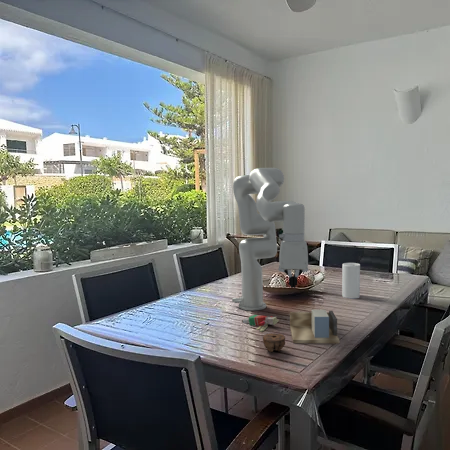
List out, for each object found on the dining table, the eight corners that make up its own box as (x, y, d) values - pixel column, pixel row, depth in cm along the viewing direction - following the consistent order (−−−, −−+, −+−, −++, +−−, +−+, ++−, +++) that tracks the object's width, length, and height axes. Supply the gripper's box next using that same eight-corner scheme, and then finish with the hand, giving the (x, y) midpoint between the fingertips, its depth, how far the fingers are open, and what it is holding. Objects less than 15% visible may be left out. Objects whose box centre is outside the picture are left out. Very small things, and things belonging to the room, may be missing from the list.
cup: (341, 297, 206) (341, 265, 205) (343, 293, 214) (343, 262, 212) (358, 299, 203) (359, 266, 202) (360, 294, 211) (360, 263, 209)
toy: (251, 311, 181) (282, 311, 173) (252, 320, 181) (284, 321, 173) (233, 321, 168) (266, 322, 160) (234, 330, 169) (267, 332, 160)
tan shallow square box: (293, 343, 150) (293, 323, 149) (289, 327, 166) (289, 309, 165) (339, 343, 148) (339, 323, 148) (331, 327, 164) (331, 309, 164)
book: (314, 337, 151) (314, 317, 151) (311, 328, 160) (311, 309, 160) (329, 337, 151) (329, 317, 150) (325, 328, 160) (325, 309, 159)
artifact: (259, 353, 141) (259, 339, 141) (266, 345, 148) (265, 331, 148) (282, 356, 138) (282, 341, 138) (287, 348, 145) (287, 334, 145)
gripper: (273, 239, 150) (272, 289, 152) (316, 239, 149) (315, 290, 151) (272, 235, 157) (272, 284, 160) (313, 236, 156) (312, 284, 159)
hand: (293, 286), depth 156 cm, fingers closed
